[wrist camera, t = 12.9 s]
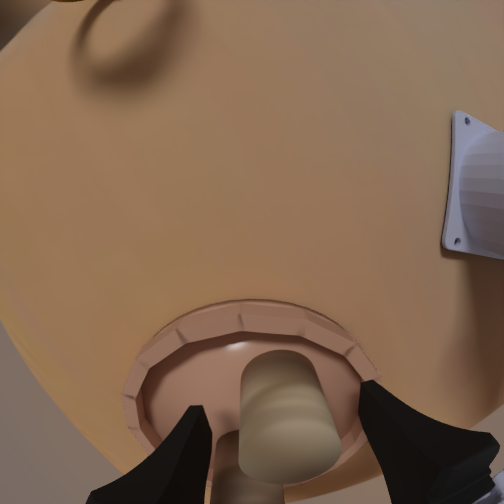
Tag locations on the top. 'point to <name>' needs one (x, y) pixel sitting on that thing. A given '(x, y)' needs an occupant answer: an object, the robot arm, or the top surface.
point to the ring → (67, 0)
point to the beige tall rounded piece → (285, 420)
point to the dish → (240, 369)
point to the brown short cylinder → (238, 478)
